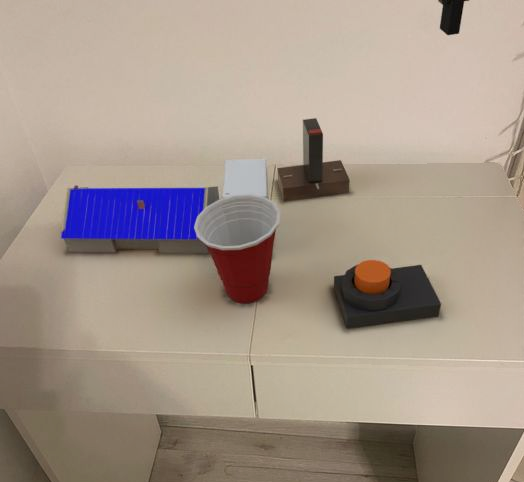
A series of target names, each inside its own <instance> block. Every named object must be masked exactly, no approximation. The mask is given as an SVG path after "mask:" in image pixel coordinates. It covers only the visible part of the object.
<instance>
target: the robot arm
mask: <svg viewBox="0 0 524 482" xmlns="http://www.w3.org/2000/svg"><path fill="white" fill-rule="evenodd" d="M437 1H438V3H440V4H441V5H442V8H441V16H440V23H439V29H440V31H442V32H443V33H444V34H445V35H446V36H454V35H458V34H460V29H461V25H462V18H463V11H464V5H465V2H470V0H437Z"/></svg>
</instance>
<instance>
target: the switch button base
mask: <svg viewBox="0 0 524 482" xmlns="http://www.w3.org/2000/svg"><path fill="white" fill-rule="evenodd" d="M357 265H358V264H356V265H354V266H352V267H351V268H349V269H347V270H346V271H345V273H344V274H341V275H334V276H333V292H334V294H335V297H336V301H337V303H338V306H339V309H340V313H341V315H342V319H343V321H344V324H345V328H346V329H355V328H363V327H370V326H377V325H386V324H390V323H391V324H393V323H399V322H407V321H413V320H422V319H428V318H434V317H435V318H436V317H437V318H438V317H439V316H440V312H441V307H442V302H441V301H440V298H439V296H438V295H437V292H436V291H435V289H434V286H433V284H432V282H431V281H430V279H429V277H428V275H427V273H426V271H425V269H424V267H423V265H422V264H417V265H416V264H415V265H409V266H408V265H407V266H401V267H400V266H399V267H393V268H392V267H390V266H389V268H390V270H391V275H390V282H389V287H388V289H387V290H386V291H384V292H383V293H379V294H368V293H363V292H361V291H359V290H358V289H357V288H356V287H355V284H354V279H355V269H356V267H357Z"/></svg>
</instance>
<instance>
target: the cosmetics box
mask: <svg viewBox="0 0 524 482" xmlns="http://www.w3.org/2000/svg"><path fill="white" fill-rule="evenodd" d="M267 166H268V165H267V159H266V158H265V157H263V158H262V157H261V158H240V159H239V158H238V159H237V158H235V159H225V160H224V166H223V167H224V169H223V180H222V181H223V182H222V193H221V199H223V198H226V197H230V196H233V195H246V194H252V195H257V196H262V197H265V198H267V199H269V200H270V197H269V180H268V167H267Z"/></svg>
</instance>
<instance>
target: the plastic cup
mask: <svg viewBox="0 0 524 482" xmlns="http://www.w3.org/2000/svg"><path fill="white" fill-rule="evenodd" d="M280 218H281V211H280V209H279V208H278V205H277V204H276V202H274V201H272V200H270V198H269V199H267V198H265V197H262V196H257V195H252V194H246V195H233V196H230V197H226V198H223V199H222V198H220V200H218V201H216V202H214V203H212V204H211V205H209V206H207V207H206V208H205V209H204V210H203V211H202V212H201V213H200V214H199V215H198V216H197V219H196V222H195V226H194V229H195V232H196V235H197V237H198V239H199V240H201V241H202V242H203V243H204V244H205V246H206V247H207V249H208V251H209V252H208V253H209V254H210V256H211V258H212V262H213V264H214V267H215V270H216V272H217V274H218V277H219V279H220V281H221V282H222V285H223V287H224V290H225V293H226V295H227V296H228V298H229V299H231V301H233V302H235V303H239V304H251V303H255V302H257V301H259V300H261V299H263V298H264V296H265V295H266V294H267V292H268V291H267V290H268V288H269V281H270V276H271V270H272V269H271V268H272V261H273V252H274V245H275V244H274V243H275V240H276V239H275V238H276V233H277V229H278V228H279V224H280Z"/></svg>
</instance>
